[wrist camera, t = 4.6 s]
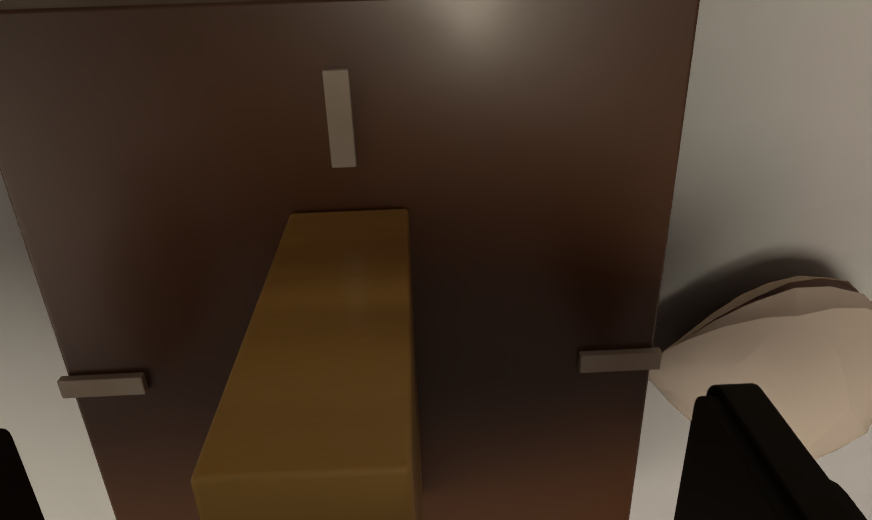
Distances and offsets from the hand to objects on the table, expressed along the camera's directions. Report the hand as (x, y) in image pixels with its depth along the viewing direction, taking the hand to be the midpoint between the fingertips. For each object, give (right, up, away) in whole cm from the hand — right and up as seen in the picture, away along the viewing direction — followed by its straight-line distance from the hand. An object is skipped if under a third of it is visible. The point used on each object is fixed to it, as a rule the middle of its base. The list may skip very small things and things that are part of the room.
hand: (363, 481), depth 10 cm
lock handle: (0, +1, +2) cm, 2 cm away
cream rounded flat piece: (+8, +1, +6) cm, 10 cm away
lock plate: (0, +3, +5) cm, 6 cm away
